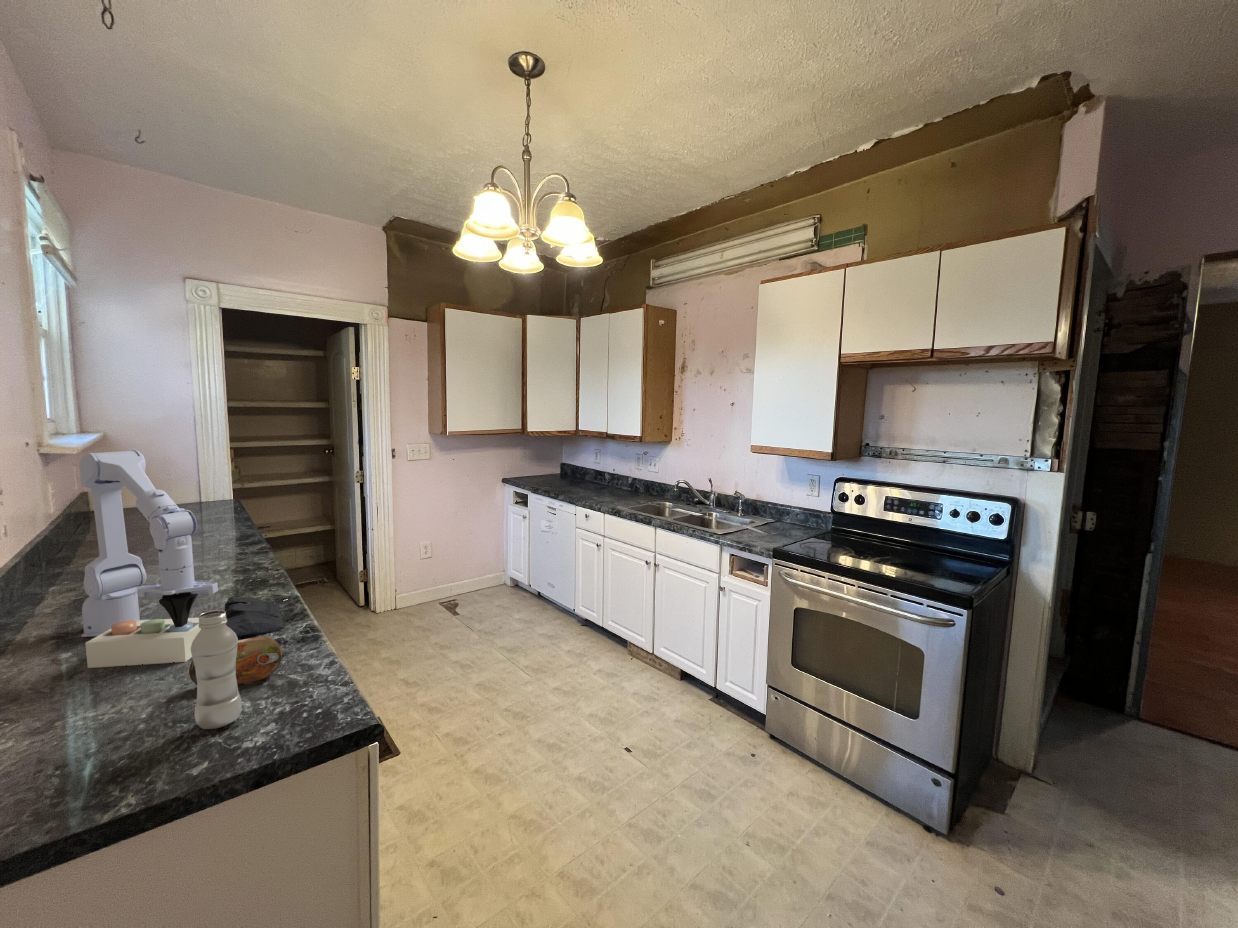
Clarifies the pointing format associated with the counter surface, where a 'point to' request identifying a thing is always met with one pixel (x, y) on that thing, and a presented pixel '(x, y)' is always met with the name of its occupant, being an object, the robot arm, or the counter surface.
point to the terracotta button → (124, 627)
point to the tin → (252, 659)
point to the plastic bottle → (215, 672)
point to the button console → (141, 646)
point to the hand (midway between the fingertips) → (181, 625)
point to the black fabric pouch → (252, 616)
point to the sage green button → (152, 626)
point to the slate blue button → (181, 629)
